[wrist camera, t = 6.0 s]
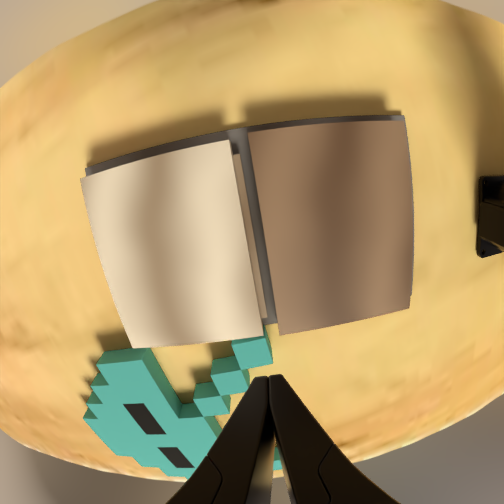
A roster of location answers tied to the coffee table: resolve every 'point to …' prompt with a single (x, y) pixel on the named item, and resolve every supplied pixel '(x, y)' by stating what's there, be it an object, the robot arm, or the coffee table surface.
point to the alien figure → (167, 406)
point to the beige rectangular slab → (178, 247)
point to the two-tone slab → (323, 215)
